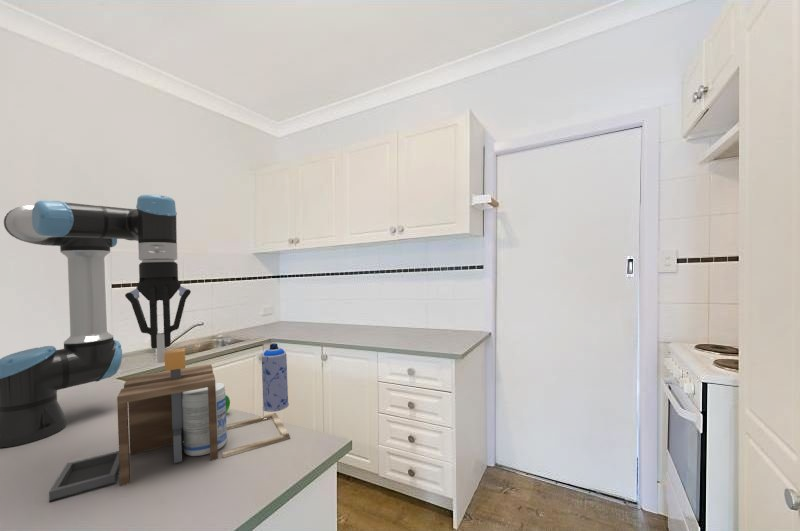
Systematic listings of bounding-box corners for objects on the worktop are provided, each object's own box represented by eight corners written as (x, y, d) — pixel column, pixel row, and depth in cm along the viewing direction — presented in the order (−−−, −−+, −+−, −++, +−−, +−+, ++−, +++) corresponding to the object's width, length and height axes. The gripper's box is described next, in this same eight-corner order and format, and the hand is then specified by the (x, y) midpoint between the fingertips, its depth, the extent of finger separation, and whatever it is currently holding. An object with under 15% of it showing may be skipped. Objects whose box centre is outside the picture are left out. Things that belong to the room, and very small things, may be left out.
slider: (169, 443, 88) (166, 347, 88) (188, 439, 90) (184, 344, 90) (167, 465, 78) (163, 356, 78) (188, 459, 80) (184, 353, 80)
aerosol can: (268, 402, 115) (266, 341, 115) (292, 401, 115) (290, 341, 115) (258, 412, 107) (256, 347, 107) (283, 411, 107) (281, 346, 107)
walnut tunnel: (130, 452, 86) (128, 377, 85) (213, 431, 95) (211, 364, 95) (120, 486, 72) (117, 396, 72) (217, 458, 81) (215, 379, 81)
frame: (217, 429, 96) (217, 426, 96) (275, 415, 104) (275, 412, 104) (222, 457, 81) (222, 454, 81) (290, 438, 89) (289, 435, 89)
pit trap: (67, 472, 78) (67, 463, 78) (124, 457, 83) (123, 449, 83) (49, 502, 67) (49, 492, 67) (115, 484, 73) (115, 474, 73)
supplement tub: (229, 449, 85) (227, 389, 85) (183, 462, 80) (181, 398, 80) (224, 434, 93) (223, 379, 93) (182, 444, 88) (181, 386, 88)
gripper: (121, 261, 75) (124, 370, 75) (190, 260, 82) (193, 360, 82) (126, 262, 82) (129, 362, 82) (190, 261, 89) (193, 353, 89)
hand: (161, 361), depth 82 cm, fingers closed
